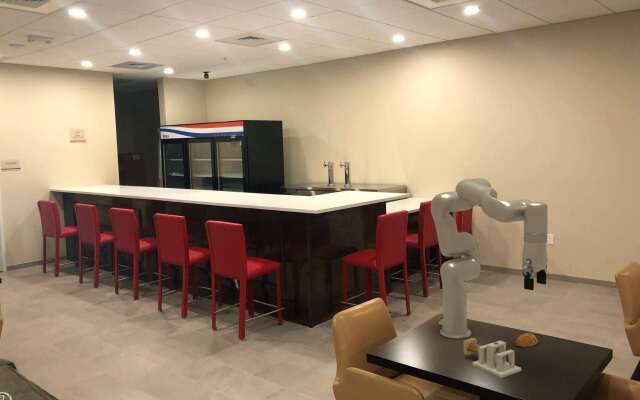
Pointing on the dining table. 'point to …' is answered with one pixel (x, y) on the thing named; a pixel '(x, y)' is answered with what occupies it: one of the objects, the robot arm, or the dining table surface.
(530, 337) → the pastry
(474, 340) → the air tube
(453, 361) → the dining table surface
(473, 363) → the white slotted holder
